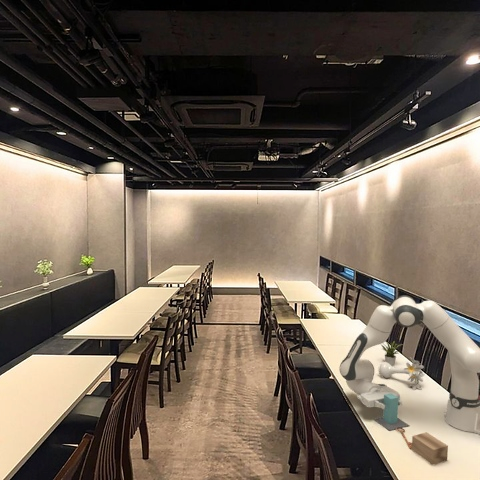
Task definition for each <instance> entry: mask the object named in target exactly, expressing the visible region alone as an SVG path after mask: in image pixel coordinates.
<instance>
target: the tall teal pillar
mask: <svg viewBox="0 0 480 480" xmlns="http://www.w3.org/2000/svg"><path fill="white" fill-rule="evenodd" d="M398 401H399V398H398V397H397V396H395V395H393V394H386V395H384V404H385V405H386V409H382V417H383V420H384V421H386V422H387V423H389V424H394V423H397V419H398V416H399V415H398V414H399V406H398Z"/></svg>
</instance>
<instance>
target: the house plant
mask: <svg viewBox="0 0 480 480" xmlns="http://www.w3.org/2000/svg"><path fill="white" fill-rule="evenodd" d="M395 342H396V341H395V340H394V341H393V342H391V343H389V342H388V341H387V340H386V341H385V342H384V343H382V344H380V346H381V347H382V349H383V351H384V352H385V353H384V360H385V361H384V362H388V363H389V364H390V365H391V366H393V367H395V363H396V358H397V356H396V355H397V354H400V351H399V350H397V349H398V348H399V347H401V346H402V345H403V346H404V344H402V343H401V344H397V343H395ZM385 343H386V344H385Z"/></svg>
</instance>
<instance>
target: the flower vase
mask: <svg viewBox="0 0 480 480" xmlns="http://www.w3.org/2000/svg"><path fill="white" fill-rule="evenodd" d="M409 359H410V360H411V363H412V364H411V363H409V362H406V367H405V368H404V367H395V366H391V365H390V364H389V363H388V362H385V361H383V362H381V364H380V363H379V365H378V368H377V369H378V370H377V371H378V373H379V375H381V376H382V378H385V379H389V378H390V377H391V376H393V375H395V374H406V375H408V376H409V377H408V378H407V380H408V381H410V382H411V384H408V385H407V387H408V388H410V387H412V390H413V391H414V390H416V389H418V390H423V389H422V388H421V385H419V383H420V382H421V383H422V382H424V379H423V377H424V376H425V373H423V371H422V369H424V368H425V366H424V365H422V364H421V363H420V361H419V360H415V359H414V358H413V356H412V357H411V356H410V357H409Z"/></svg>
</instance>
